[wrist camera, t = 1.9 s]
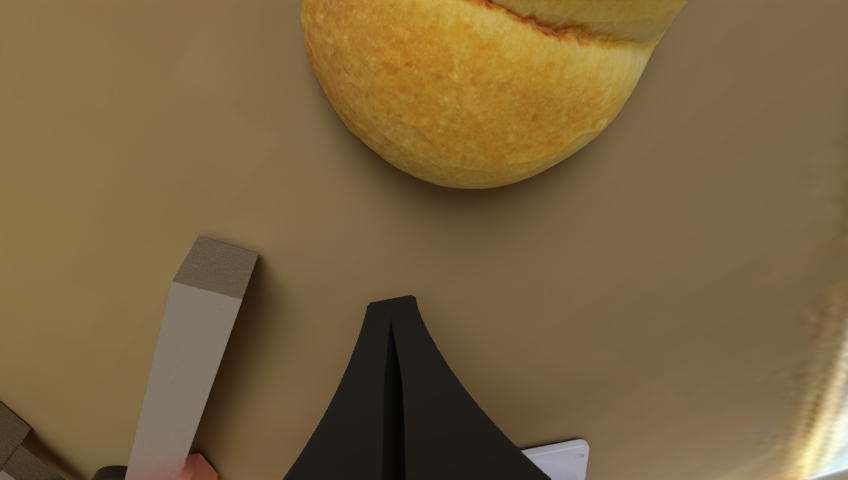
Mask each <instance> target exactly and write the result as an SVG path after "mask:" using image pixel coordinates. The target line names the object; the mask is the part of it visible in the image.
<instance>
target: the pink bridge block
mask: <svg viewBox="0 0 848 480" xmlns="http://www.w3.org/2000/svg"><path fill="white" fill-rule="evenodd" d="M217 478H218V474H217V473H216V472H215V470H214V469H213V468H212V467H211V466H210V465H209V463H208V462H207V461H206V460H205V459H204V457H203V456H202V455H201V454H200V453H197V454H192V455H188V456H187V458H186V461H185V464H184V467H183V470H182V473H181V475H180V478H179V480H217Z"/></svg>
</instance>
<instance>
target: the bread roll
mask: <svg viewBox="0 0 848 480" xmlns="http://www.w3.org/2000/svg"><path fill="white" fill-rule="evenodd" d="M686 1H687V0H303V3H302V10H301V25H302V34H303V41H304V44H305V48H306V52H307V55H308V58H309V61H310V64H311V67H312V69H313V71H314V73H315V75H316V77H317V79H318V81H319V83H320V85H321V87H322V89H323V91H324V93H325V95H326V96H327V98H328V100H329V101H330V103H331V105H332V106H333V108H334V109H335V111H336V113H337V114H338V116H339V117H340V118H341V120H342V121H343V122H344V124H345V125H346V126H347V128H348V129H349V130H350V132H352V133H353V134H354V135H356V136H357V137H358V138H359V139H360V140H361V141H362V142H363V143H365V144H366V145H367V146H368V147H369V148H371V149H372V150H373V151H375V152H376V153H377V154H378V155H380V156H381V157H382V158H383V159H385V160H386V161H387V162H389V163H390V164H392V165H393V166H395V167H396V168H398V169H400V170H402V171H404V172H406V173H408V174H410V175H412V176H414V177H417V178H419V179H422V180H425V181H427V182H430V183H433V184H436V185H441V186H445V187H453V188H462V189H486V188H495V187H500V186H504V185H509V184H513V183H516V182H519V181H522V180H524V179H527V178H530V177H532V176H535V175H537V174H539V173H541V172H543V171H545V170H547V169H549V168H550V167H552V166H554V165H556V164H557V163H559V162H561V161H563V160H564V159H566V158H568V157H569V156H571V155H572V154H574V153H575V152H577V151H578V150H580V149H581V148H583V147H584V146H585V145H587V144H588V143H589V142H590V141H592V140H593V139H594V138H595V137H597V136H598V135H599V134H600V133H601V132H602V131H603V130H604V129H605V128H606V127H607V126H608V125H609V124H610V123H611V122H612V121H613V120H614V118H615V117H616V116H617V115H618V113H619V112H620V111H621V109H622V107H623V106H624V104H625V102H626V101H627V100H628V98H629V97H630V95H631V93H632V91H633V90H634V88H635V86H636V84H637V82H638V80H639V78H640V76H641V74H642V72H643V70H644V68H645V66H646V64H647V62H648V60H649V58H650V56H651V54H652V52H653V50H654V49H655V47H656V46H657V44H658V42H659V41H660V39H661V37H662V36H663V34H664V33H665V31H666V29H667V28H668V27H669V26H670V24H671V23H672V22H673V21H674V19H675V17H676V16H677V15H678V13H679V12H680V11H681V9H682V7H683V6H684V4H685V2H686Z"/></svg>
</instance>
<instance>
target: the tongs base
mask: <svg viewBox="0 0 848 480" xmlns="http://www.w3.org/2000/svg"><path fill="white" fill-rule="evenodd" d="M30 430H31V427H30V426H28V425H27V424H26V423H25V422H24V421H22V420H21V419H20V418H19V417H18V416H17V415H15V414H14V413H13V412H12V411H11V410H9V409H8V408H7V407H6V406H5V405H3V404H2V403H1V402H0V480H65V479H63V478H62V477H61V476H60V475H58V474H57V473H56V472H54V471H53V470H52V469H51V468H49V467H48V466H47V465H46V464H44V463H43V462H42V461H40V460H39V459H38V458H37V457H35V456H34V455H33V454H32V453H30V452H29V451H28V450H26V449H25V448H24V447H23V446H21V445H20V444H21V442H22V441H23V439H24V438H25V437H26V435H27V434H28V432H29V431H30ZM127 468H128V467H124V466H108V467H104V468H101V469H99V470H98V471H97V472H96V473H95V475H94V477H93V479H92V480H125V477H126V473H127Z"/></svg>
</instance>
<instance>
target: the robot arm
mask: <svg viewBox="0 0 848 480" xmlns="http://www.w3.org/2000/svg"><path fill="white" fill-rule="evenodd" d="M588 454H589V446H588V444H587V442H586V441H585V440H582V439H578V440H572V441H567V442H562V443H557V444H552V445H547V446H541V447H536V448H531V449H526V450H521V451H520V450H519V449H518V448H517V447H516V446H515V445H514V444H513V443H512V442H511V441H510V440H509V439H508V438H507V437H506V436H505V435H504V433H503V432H502V431H501V430H500V429H499V428H498V427H497V426H496V425H495V424H494V423H493V421H492V420H491V419H490V418H489V417H488V416H487V415H486V414H485V413H484V412H483V411H482V409H481V408H480V407H479V406H478V405H477V403H476V402H475V401H474V400H473V398H472V397H471V396H470V395H469V393H468V392H467V391H466V390H465V388H464V387H463V386H462V384H461V383H460V382H459V380H458V379H457V378H456V376H455V375H454V373H453V372H452V370H451V369H450V367H449V366H448V364H447V363H446V361H445V360H444V358H443V357H442V355H441V354H440V352H439V350H438V349H437V347H436V345H435V343H434V341H433V340H432V338H431V336H430V334H429V332H428V330H427V328H426V326H425V324H424V322H423V320H422V318H421V315H420V313H419V310H418V307H417V302H416V298H415V297H414V296H412V295H409V296H403V297H398V298H393V299H388V300H382V301H377V302H372V303H370V304H369V305H368V306H367V310H366V314H365V318H364V322H363V325H362V328H361V331H360V334H359V337H358V340H357V343H356V346H355V348H354V351H353V354H352V356H351V359H350V362H349V364H348V366H347V369H346V371H345V373H344V375H343V378H342V380H341V382H340V384H339V387H338V389H337V391H336V393H335V395H334V397H333V399H332V401H331V403H330V405H329V407H328V409H327V410H326V412H325V414H324V416H323V418H322V420H321V421H320V423H319V425H318V427H317V428H316V430H315V431H314V433H313V435H312V436H311V438H310V440H309V441H308V443H307V445H306V446H305V448H304V449H303V451H302V452H301V454H300V456H299V457H298V459H297V460H296V462H295V463H294V464H293V466H292V467H291V469H290V470H289V471H288V473H287V474H286V476H285V477H284V478H283V480H585V475H586V468H587V461H588Z"/></svg>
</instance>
